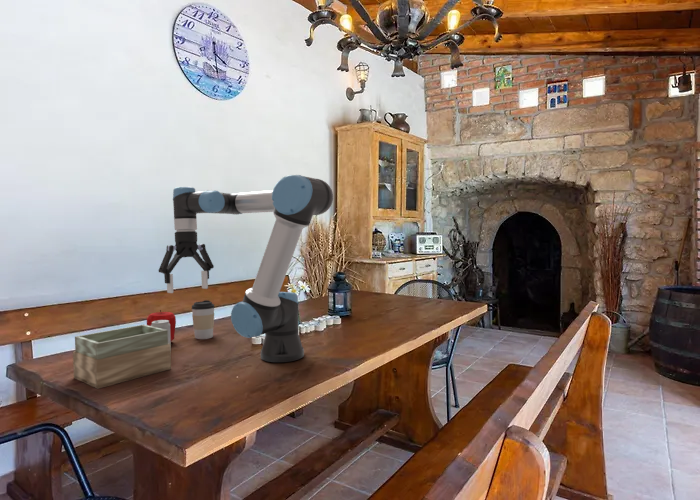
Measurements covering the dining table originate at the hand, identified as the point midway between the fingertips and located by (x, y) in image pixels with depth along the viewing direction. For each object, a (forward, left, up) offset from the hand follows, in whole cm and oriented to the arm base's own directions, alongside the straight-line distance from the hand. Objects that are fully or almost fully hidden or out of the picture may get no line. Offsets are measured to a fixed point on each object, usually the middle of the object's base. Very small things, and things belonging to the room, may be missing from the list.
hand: (188, 290), depth 160 cm
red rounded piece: (+20, -1, -23) cm, 30 cm away
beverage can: (+6, +7, -23) cm, 25 cm away
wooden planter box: (-4, +25, -23) cm, 34 cm away
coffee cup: (+16, -17, -23) cm, 32 cm away
